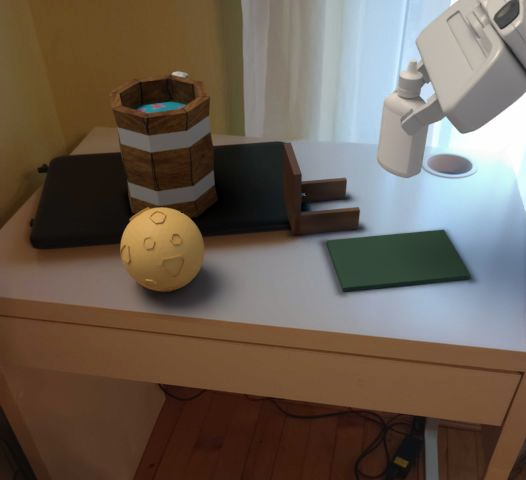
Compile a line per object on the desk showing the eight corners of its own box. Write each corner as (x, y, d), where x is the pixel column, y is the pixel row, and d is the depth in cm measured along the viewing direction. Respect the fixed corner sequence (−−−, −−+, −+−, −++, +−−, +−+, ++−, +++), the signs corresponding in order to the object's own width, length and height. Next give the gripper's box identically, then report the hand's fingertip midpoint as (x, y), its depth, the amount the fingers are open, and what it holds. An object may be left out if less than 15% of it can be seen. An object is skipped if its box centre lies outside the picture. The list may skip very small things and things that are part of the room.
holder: (344, 195, 92) (349, 137, 86) (358, 229, 86) (364, 168, 79) (283, 201, 91) (283, 142, 85) (292, 235, 85) (294, 174, 79)
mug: (208, 225, 87) (198, 120, 77) (114, 219, 89) (91, 115, 78) (233, 156, 101) (227, 59, 90) (151, 152, 102) (136, 56, 92)
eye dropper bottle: (384, 181, 71) (398, 72, 63) (374, 157, 75) (386, 52, 67) (423, 179, 71) (442, 70, 63) (410, 155, 75) (426, 49, 67)
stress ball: (152, 252, 83) (141, 183, 76) (220, 268, 80) (215, 199, 73) (112, 297, 76) (95, 227, 69) (184, 317, 74) (174, 246, 67)
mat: (443, 233, 85) (444, 229, 84) (470, 279, 78) (471, 275, 77) (326, 243, 84) (326, 240, 83) (342, 291, 76) (342, 287, 76)
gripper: (474, -38, 67) (372, 58, 75) (525, 27, 53) (392, 138, 60) (506, 7, 70) (405, 95, 78) (562, 81, 56) (432, 180, 63)
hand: (400, 115), depth 69 cm, fingers closed on eye dropper bottle, 5 cm apart
